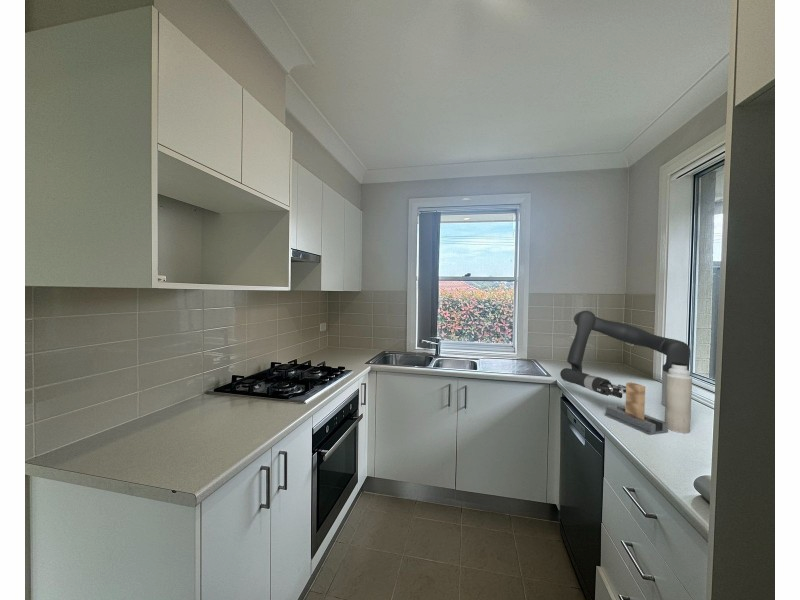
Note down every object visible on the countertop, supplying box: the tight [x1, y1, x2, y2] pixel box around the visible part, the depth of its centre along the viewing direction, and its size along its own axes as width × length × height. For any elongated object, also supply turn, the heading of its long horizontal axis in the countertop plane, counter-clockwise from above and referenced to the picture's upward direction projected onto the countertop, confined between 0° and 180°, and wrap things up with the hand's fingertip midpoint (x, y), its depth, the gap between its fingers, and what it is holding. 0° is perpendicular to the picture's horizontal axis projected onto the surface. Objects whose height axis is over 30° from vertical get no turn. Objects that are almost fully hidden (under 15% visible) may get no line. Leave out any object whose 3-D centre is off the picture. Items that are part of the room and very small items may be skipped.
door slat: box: [624, 381, 646, 420], centre depth 135 cm, size 6×3×16 cm, turn 15°
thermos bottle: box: [664, 361, 693, 434], centre depth 130 cm, size 8×8×28 cm
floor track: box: [604, 404, 669, 436], centre depth 135 cm, size 20×10×4 cm, turn 15°
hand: (629, 395), depth 138 cm, fingers open, 8 cm apart
